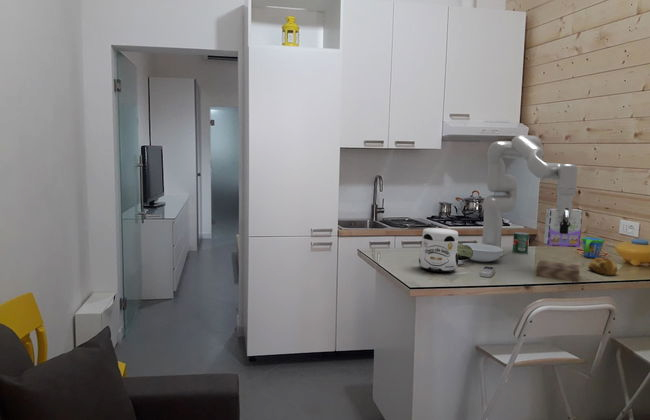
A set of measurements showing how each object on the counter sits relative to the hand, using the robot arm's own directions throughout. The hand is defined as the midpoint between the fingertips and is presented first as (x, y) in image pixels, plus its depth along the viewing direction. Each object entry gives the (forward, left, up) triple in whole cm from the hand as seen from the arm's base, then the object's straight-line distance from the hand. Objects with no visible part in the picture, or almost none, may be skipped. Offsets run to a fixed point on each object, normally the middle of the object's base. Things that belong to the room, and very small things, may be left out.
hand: (562, 232), depth 227 cm
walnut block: (0, 0, -20) cm, 20 cm away
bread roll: (+21, +16, -20) cm, 33 cm away
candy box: (0, 0, -6) cm, 6 cm away
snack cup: (+26, +56, -20) cm, 65 cm away
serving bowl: (-33, +19, -20) cm, 43 cm away
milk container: (-52, -13, -20) cm, 57 cm away
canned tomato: (-11, +50, -20) cm, 55 cm away
